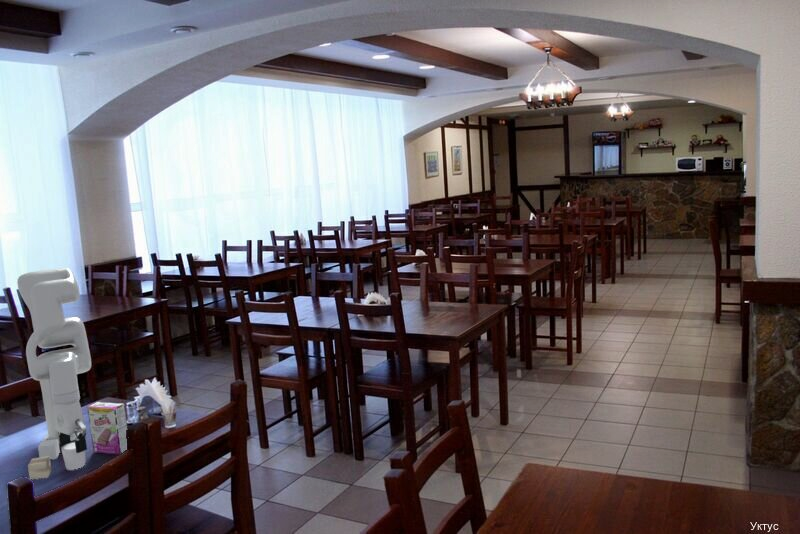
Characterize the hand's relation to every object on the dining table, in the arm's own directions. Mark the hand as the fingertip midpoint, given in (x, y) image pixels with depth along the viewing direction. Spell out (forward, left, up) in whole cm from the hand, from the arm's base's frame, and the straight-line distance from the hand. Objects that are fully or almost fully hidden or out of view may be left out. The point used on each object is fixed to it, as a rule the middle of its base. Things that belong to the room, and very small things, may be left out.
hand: (73, 448), depth 211 cm
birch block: (+2, -10, -6) cm, 12 cm away
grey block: (-12, -10, -6) cm, 17 cm away
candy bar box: (-9, +9, -7) cm, 14 cm away
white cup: (-1, 0, -7) cm, 7 cm away
